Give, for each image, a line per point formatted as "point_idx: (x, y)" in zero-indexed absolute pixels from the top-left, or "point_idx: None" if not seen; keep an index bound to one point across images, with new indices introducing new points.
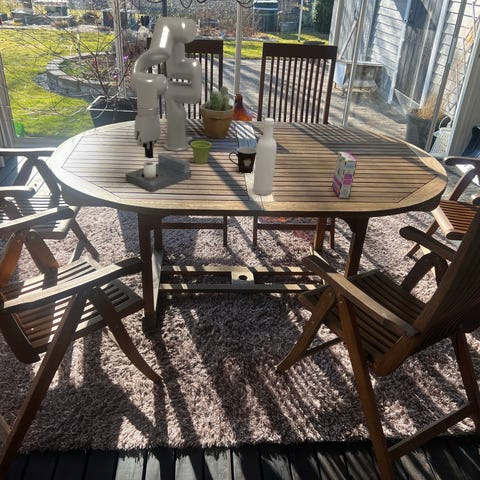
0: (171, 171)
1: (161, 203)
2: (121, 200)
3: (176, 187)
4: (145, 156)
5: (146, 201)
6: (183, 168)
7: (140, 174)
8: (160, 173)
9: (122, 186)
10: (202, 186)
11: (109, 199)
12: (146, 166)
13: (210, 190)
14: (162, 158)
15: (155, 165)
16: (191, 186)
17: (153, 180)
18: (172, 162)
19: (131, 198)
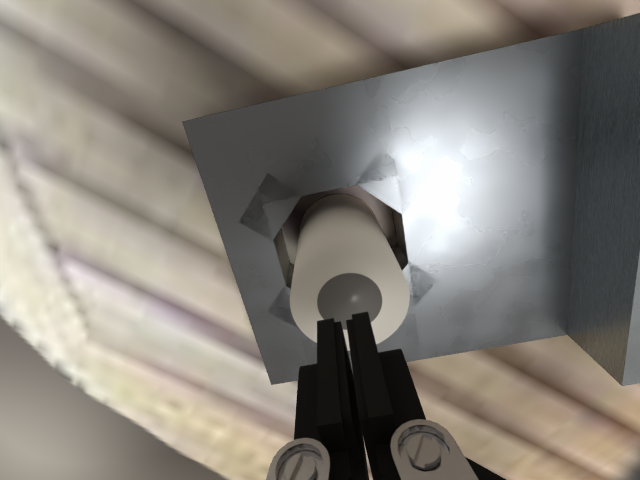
0: (525, 263)
1: (255, 456)
2: (86, 356)
3: (426, 361)
4: (319, 328)
5: (201, 415)
6: (593, 349)
7: (288, 199)
8: (431, 256)
9: (145, 200)
10: (545, 410)
11: (26, 319)
12: (298, 322)
13: (536, 455)
14: (634, 96)
15: (387, 331)
16: (500, 386)
17: None
18: (617, 243)
19: (143, 360)
